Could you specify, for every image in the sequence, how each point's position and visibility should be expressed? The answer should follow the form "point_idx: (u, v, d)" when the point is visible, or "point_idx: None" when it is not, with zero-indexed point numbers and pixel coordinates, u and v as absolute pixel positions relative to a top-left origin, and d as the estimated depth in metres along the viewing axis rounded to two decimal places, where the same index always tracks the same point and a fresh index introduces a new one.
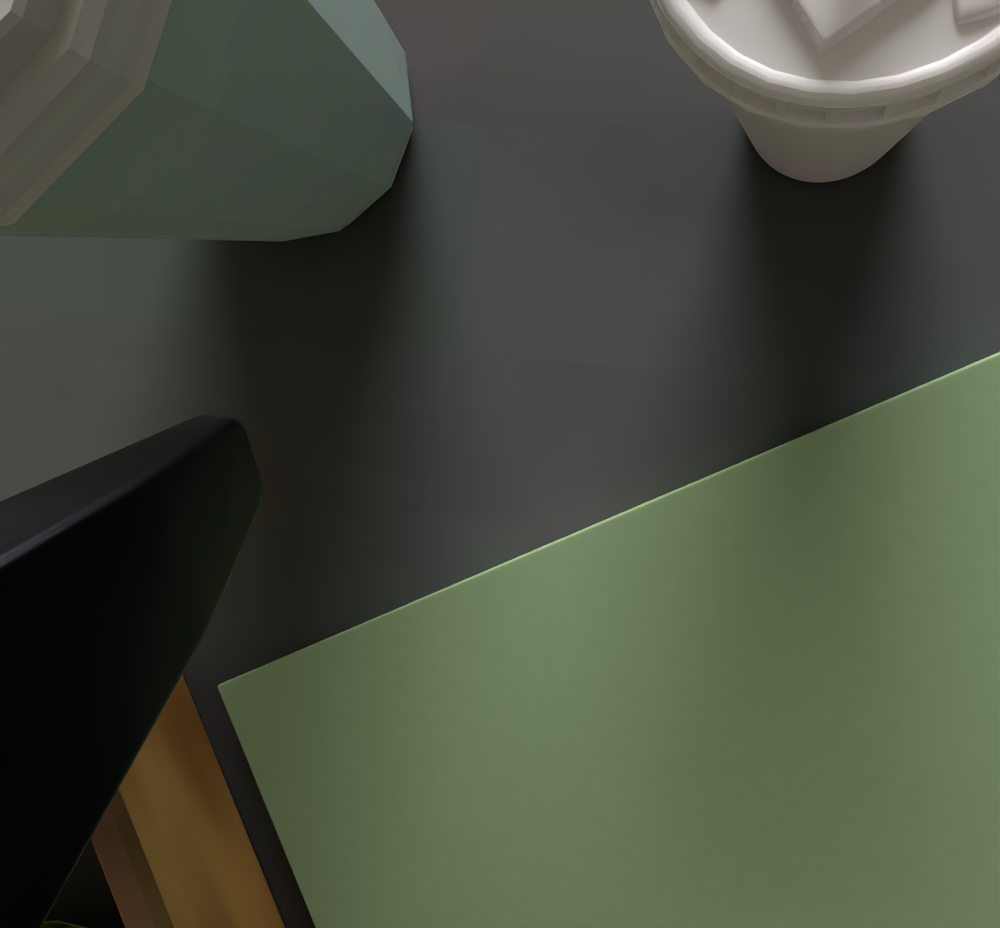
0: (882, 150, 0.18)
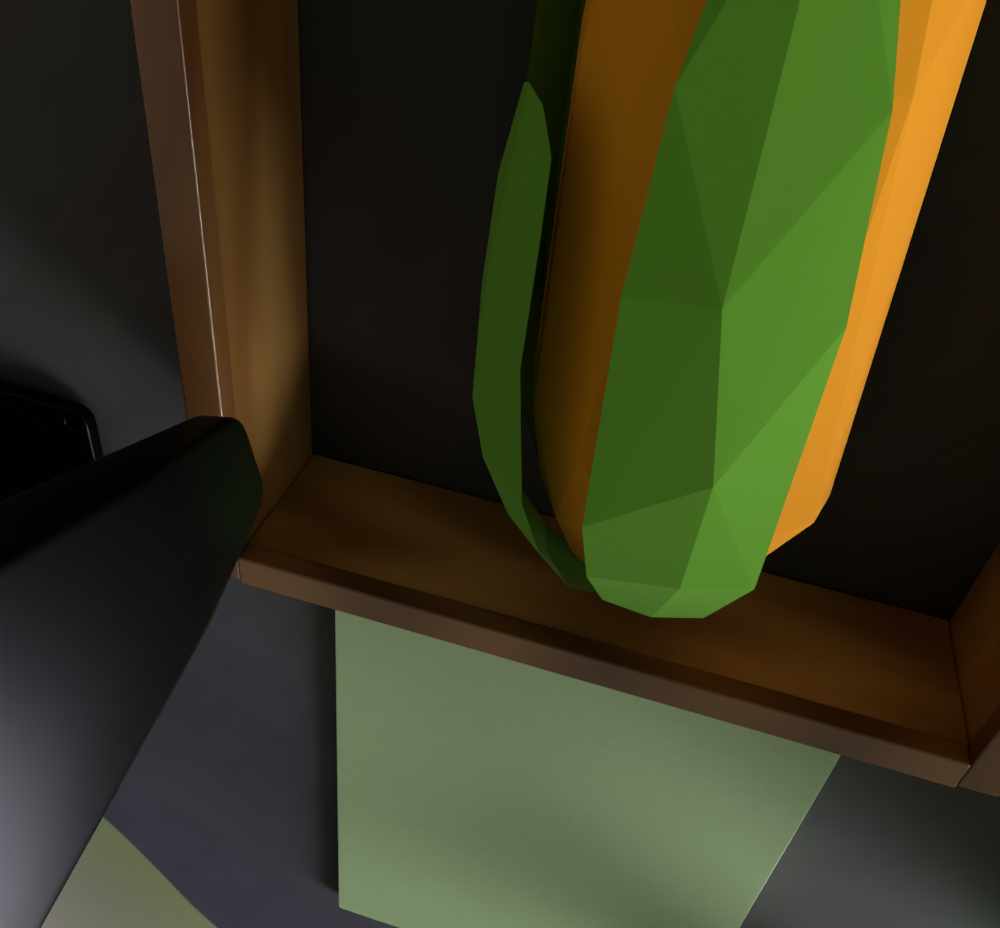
0: None
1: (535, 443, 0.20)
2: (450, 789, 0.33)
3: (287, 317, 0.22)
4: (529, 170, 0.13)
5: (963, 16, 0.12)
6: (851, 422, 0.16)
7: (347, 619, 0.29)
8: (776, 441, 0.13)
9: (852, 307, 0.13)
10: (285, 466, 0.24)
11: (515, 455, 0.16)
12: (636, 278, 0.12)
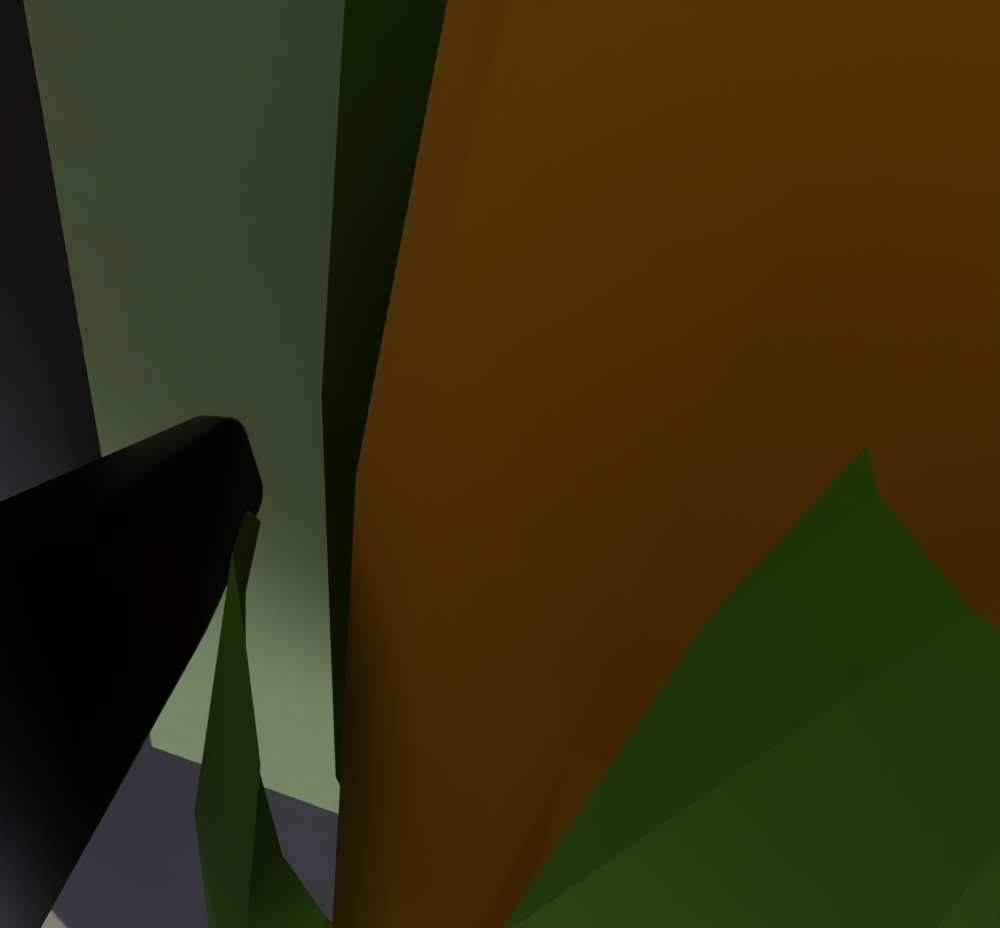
0: None
1: None
2: None
3: None
4: (232, 741, 0.06)
5: None
6: None
7: None
8: None
9: None
10: None
11: None
12: None
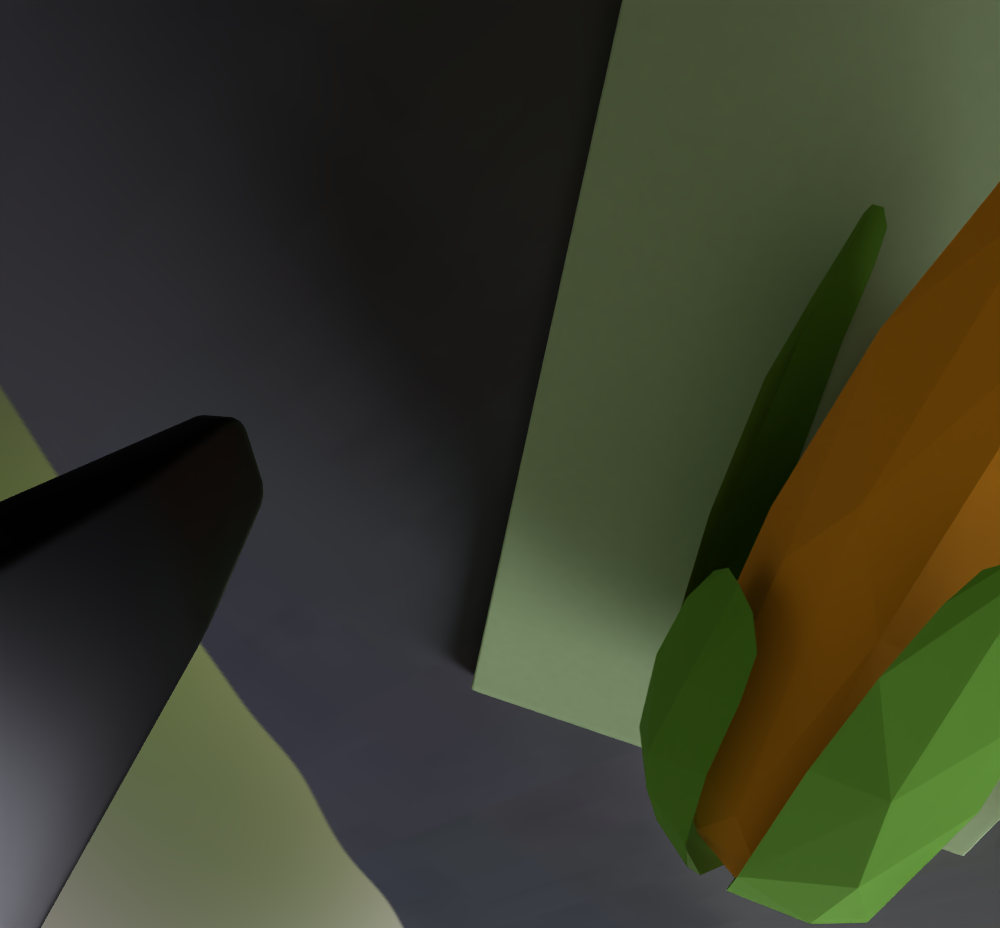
0: None
1: None
2: (719, 440, 0.21)
3: None
4: (733, 648, 0.17)
5: None
6: None
7: (633, 60, 0.17)
8: (910, 862, 0.17)
9: None
10: None
11: (685, 814, 0.19)
12: (823, 764, 0.16)
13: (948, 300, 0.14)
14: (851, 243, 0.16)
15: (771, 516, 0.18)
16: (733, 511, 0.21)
